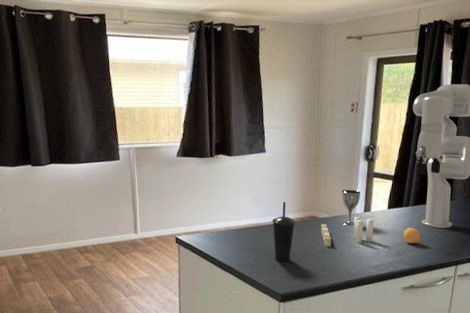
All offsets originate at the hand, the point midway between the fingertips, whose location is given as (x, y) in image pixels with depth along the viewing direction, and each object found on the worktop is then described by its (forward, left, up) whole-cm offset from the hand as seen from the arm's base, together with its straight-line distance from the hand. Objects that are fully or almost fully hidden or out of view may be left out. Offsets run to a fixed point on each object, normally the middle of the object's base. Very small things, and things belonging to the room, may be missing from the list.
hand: (428, 173), depth 162 cm
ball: (+1, -5, -25) cm, 25 cm away
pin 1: (-1, -26, -28) cm, 38 cm away
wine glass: (-24, -25, -28) cm, 44 cm away
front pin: (+1, -21, -28) cm, 35 cm away
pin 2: (+4, -26, -28) cm, 38 cm away
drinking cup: (+28, -55, -28) cm, 68 cm away
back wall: (+1, -38, -28) cm, 47 cm away
